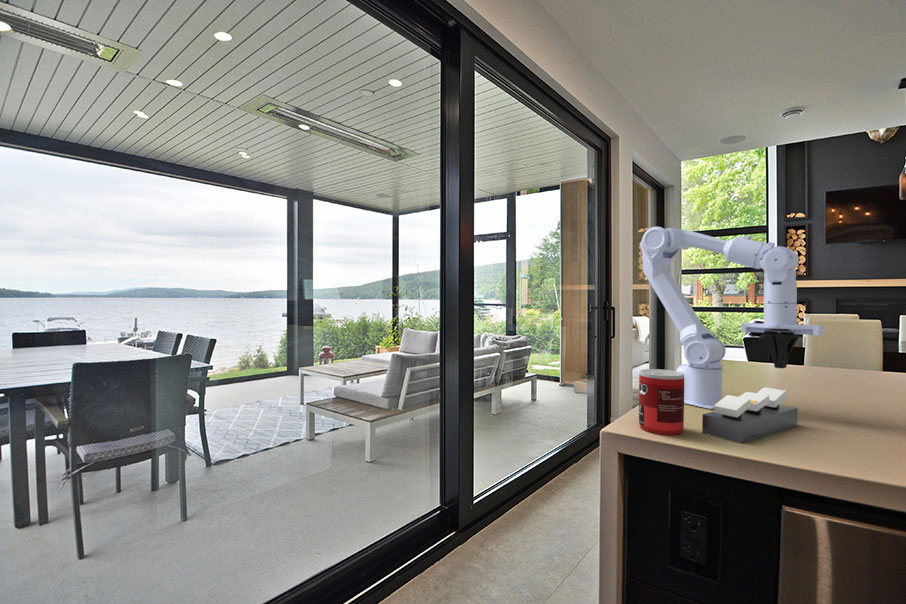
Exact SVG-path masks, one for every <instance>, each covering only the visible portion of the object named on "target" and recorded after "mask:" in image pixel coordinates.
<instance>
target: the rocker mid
mask: <svg viewBox="0 0 906 604" xmlns="http://www.w3.org/2000/svg"><path fill="white" fill-rule="evenodd" d="M757 393H758V392H751V391H745V392H744V393H742V394H741V395H739V396H738V397H742V398H747V399H750V402H751V407H749V408H748V409H747V410H752V411H758V410H760V409H761V408H763V407H764V406H765V405H767V404H768V403H770V400H769V395H763V394H757Z"/></svg>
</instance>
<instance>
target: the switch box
mask: <svg viewBox="0 0 906 604" xmlns="http://www.w3.org/2000/svg"><path fill="white" fill-rule="evenodd" d="M798 411H799V410H798V407H794V406H788V405H783V404H779V405H778V406H776V407H770V406H764V407H763V408H761V409H760V410H758V411H752V410H746V411H745V412H743V413H742V414H741V415H740V416H739V417H732V416H728V415H723V414H719V413H715V412H714V411H711V412H708V413H707V412H706V413H703V414H702V421H701V422H702V431H701V432H702V434H704V433H706V434H705V435H708V434H710V435H709V436H712V435H713V436H712V437H715V436H717V437H716V438H719V437H720V439H723V438H724V439H723V440H727V441H731V442H734V441H735V443H738V444H745V443H747V442H751V441H754V440H757V439H760V438H764V437H767V436H770V435H772V434H776V433H779V432H782V431H785V430H789V429H790V428H791V429H792V428H794V427H797V426H798Z"/></svg>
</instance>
